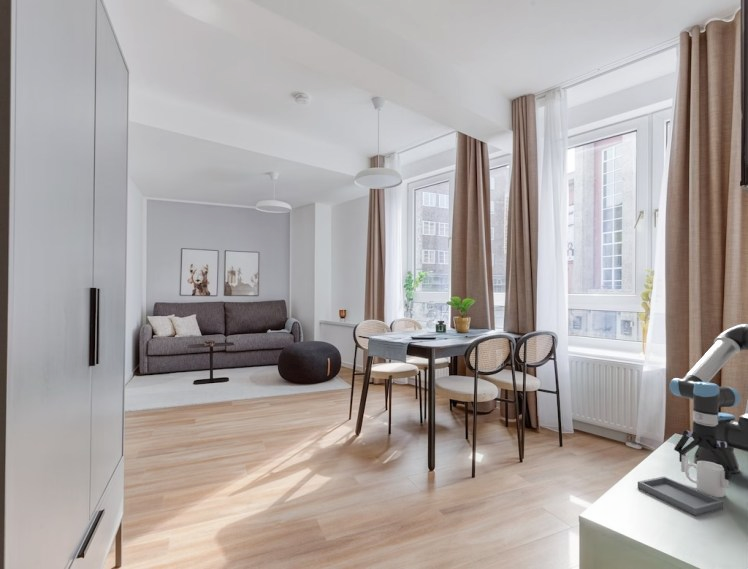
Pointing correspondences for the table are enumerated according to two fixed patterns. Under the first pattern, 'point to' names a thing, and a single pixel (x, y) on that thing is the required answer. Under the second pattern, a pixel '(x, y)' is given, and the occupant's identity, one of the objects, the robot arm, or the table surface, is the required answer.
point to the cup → (707, 478)
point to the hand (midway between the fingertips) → (703, 479)
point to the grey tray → (681, 496)
